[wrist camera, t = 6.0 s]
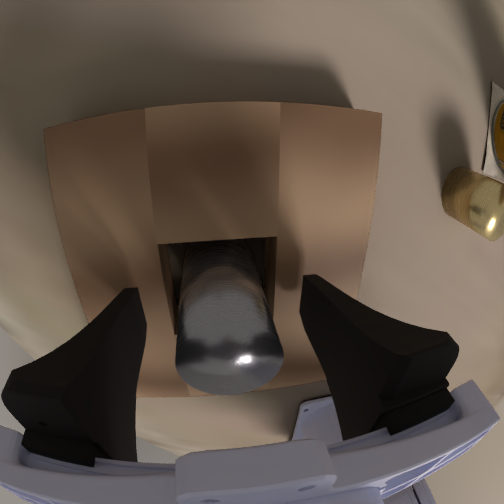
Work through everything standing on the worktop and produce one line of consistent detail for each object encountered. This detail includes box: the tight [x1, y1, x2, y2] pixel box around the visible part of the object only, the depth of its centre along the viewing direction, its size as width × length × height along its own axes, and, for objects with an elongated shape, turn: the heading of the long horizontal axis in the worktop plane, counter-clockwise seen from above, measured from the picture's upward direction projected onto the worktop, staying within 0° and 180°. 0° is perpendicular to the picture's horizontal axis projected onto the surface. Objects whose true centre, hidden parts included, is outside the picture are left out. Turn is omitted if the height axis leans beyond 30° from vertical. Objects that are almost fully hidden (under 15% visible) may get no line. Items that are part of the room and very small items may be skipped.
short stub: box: [442, 167, 504, 241], centre depth 14 cm, size 4×4×4 cm
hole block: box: [44, 101, 382, 397], centre depth 14 cm, size 16×14×2 cm
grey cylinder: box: [175, 239, 284, 395], centre depth 12 cm, size 4×4×7 cm
